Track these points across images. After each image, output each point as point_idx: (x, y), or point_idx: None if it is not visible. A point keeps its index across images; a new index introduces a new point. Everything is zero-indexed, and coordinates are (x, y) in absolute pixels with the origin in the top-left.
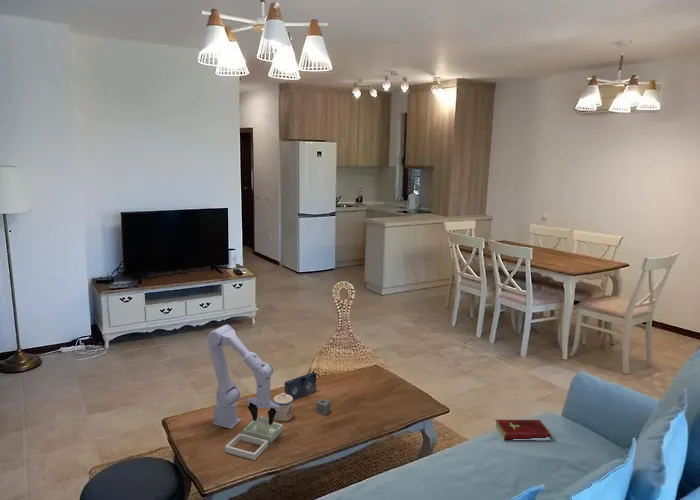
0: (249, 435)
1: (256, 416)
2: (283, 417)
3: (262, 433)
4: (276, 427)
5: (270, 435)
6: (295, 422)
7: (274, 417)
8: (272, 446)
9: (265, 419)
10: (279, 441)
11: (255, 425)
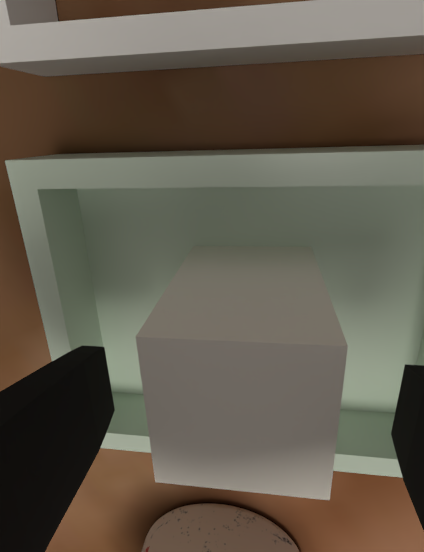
0: (373, 146)
1: (417, 472)
2: (168, 545)
3: (219, 251)
4: None
5: (135, 272)
6: (90, 513)
7: (269, 534)
8: (3, 101)
9: (191, 433)
10: (10, 227)
11: (399, 384)
